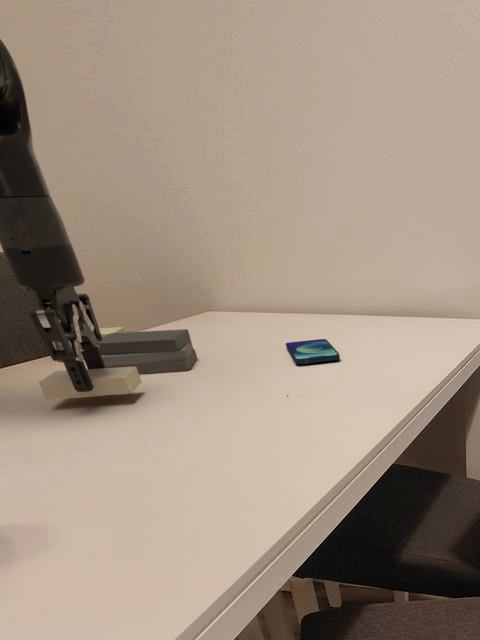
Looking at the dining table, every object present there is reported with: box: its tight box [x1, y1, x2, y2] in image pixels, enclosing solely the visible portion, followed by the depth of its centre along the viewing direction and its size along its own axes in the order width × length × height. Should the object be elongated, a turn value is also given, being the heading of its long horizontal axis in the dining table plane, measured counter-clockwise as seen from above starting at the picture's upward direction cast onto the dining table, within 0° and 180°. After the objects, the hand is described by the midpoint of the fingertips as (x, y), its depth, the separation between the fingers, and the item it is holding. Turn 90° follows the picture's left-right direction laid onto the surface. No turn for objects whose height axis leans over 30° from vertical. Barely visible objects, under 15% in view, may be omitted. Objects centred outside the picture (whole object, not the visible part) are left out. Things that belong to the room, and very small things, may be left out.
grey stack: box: [98, 328, 198, 375], centre depth 98 cm, size 14×9×5 cm
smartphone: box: [285, 338, 341, 365], centre depth 103 cm, size 8×1×15 cm
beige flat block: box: [38, 367, 142, 400], centre depth 83 cm, size 11×6×2 cm, turn 101°
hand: (93, 384), depth 83 cm, fingers closed on beige flat block, 6 cm apart
